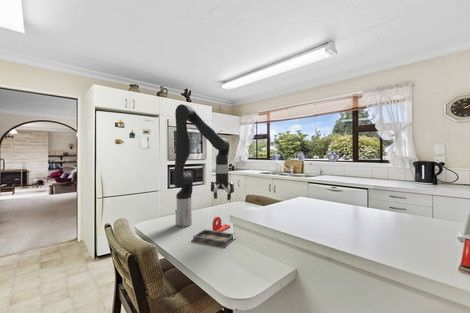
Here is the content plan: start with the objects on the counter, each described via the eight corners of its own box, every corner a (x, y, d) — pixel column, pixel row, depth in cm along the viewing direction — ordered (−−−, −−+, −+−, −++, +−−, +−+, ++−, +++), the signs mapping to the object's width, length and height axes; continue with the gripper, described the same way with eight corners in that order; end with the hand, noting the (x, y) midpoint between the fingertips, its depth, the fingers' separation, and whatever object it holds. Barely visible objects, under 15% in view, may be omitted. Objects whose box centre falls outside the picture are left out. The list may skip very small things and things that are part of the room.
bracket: (218, 233, 125) (218, 219, 125) (212, 231, 128) (212, 218, 128) (231, 227, 135) (230, 214, 135) (225, 225, 138) (224, 213, 137)
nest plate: (191, 241, 115) (191, 236, 115) (204, 232, 127) (204, 228, 127) (225, 247, 107) (225, 243, 107) (236, 237, 118) (236, 233, 118)
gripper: (208, 172, 130) (208, 199, 130) (230, 173, 124) (230, 201, 124) (214, 171, 136) (214, 197, 137) (235, 171, 131) (235, 199, 131)
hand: (222, 199), depth 131 cm, fingers open, 8 cm apart
